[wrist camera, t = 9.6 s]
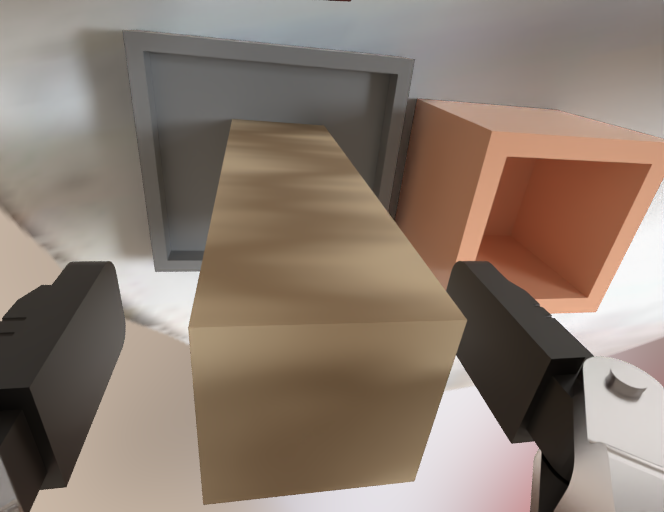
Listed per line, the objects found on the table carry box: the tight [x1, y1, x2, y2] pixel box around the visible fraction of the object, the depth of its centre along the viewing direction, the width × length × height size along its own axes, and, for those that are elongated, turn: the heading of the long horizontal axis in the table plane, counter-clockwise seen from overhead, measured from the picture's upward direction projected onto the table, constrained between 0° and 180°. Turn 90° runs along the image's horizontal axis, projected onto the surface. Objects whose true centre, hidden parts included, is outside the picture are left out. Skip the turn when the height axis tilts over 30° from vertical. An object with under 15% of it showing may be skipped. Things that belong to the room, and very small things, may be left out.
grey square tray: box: [123, 30, 415, 272], centre depth 19 cm, size 11×10×2 cm
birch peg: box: [188, 119, 467, 505], centre depth 13 cm, size 4×4×14 cm
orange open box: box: [395, 99, 664, 314], centre depth 19 cm, size 8×8×7 cm
